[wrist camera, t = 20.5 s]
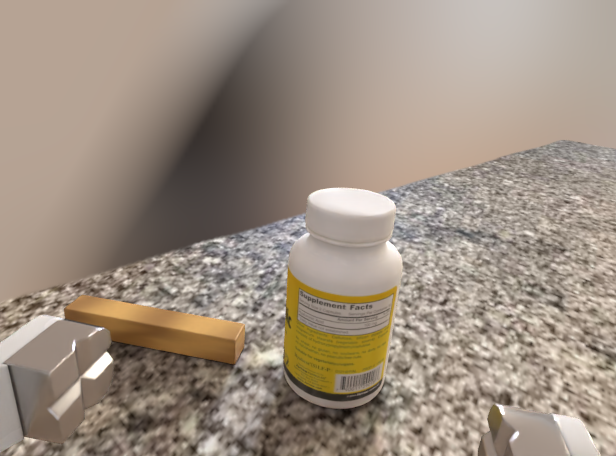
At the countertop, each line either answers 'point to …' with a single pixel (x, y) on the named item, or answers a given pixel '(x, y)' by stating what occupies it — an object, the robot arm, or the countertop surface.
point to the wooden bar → (161, 328)
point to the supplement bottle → (341, 298)
